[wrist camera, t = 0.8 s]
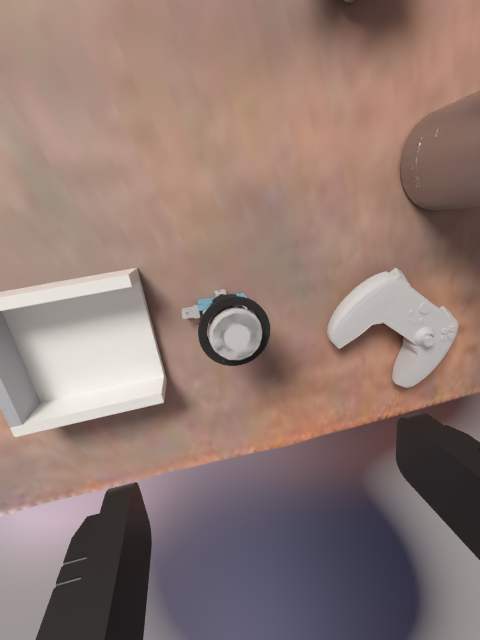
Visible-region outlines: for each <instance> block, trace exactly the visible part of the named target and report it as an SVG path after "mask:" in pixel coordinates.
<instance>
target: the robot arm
mask: <svg viewBox="0 0 480 640" xmlns="http://www.w3.org/2000/svg"><path fill="white" fill-rule="evenodd" d="M400 170H401V180H402V184H403V187H404V190H405V192H406V194H407V195H408V197H409V198H410V199H411V201H412V202H413V203H414V204H416V205H417V206H419V207H420V208H423V209H426V210H433V211H439V210H452V209H465V208H480V91H478V92H476V93H473V94H471V95H469V96H467V97H465V98H463V99H460V100H458V101H456V102H454V103H452V104H450V105H448V106H446V107H444V108H441V109H439V110H437V111H435V112H433V113H431V114H430V115H428V116H427V117H425V118H424V119H423V120H422V121H421V122H420V123H419V124H418V125H417V126H416V127H415V128H414V130H413V131H412V133H411V134H410V136H409V138H408V140H407V142H406V144H405V146H404V150H403V154H402V157H401V167H400ZM396 461H397V465H398V467H399V470H400V472H401V473H402V475H403V476H404V478H405V479H406V480H407V481H408V482H409V483H410V485H411V486H412V487H413V488H414V489H415V490H416V491H417V492H418V493H419V494H420V496H421V497H422V498H423V499H424V500H425V501H426V502H427V503H428V504H429V505H430V506H431V508H432V509H433V510H434V511H435V512H436V513H437V514H438V515H439V516H440V517H441V518H442V520H443V521H444V522H445V523H446V524H447V525H448V526H449V527H450V528H451V529H452V530H453V531H454V533H455V534H456V535H457V536H458V537H459V538H460V539H461V540H462V541H463V542H464V544H465V545H466V546H467V547H468V548H469V549H470V550H471V551H472V552H473V553H474V554H475V556H476V557H477V558H478V559H479V560H480V442H478V441H477V440H475V439H474V438H472V437H471V436H469V435H468V434H466V433H464V432H461V431H459V430H457V429H455V428H452V427H450V426H447V425H445V426H444V425H443V424H441V423H440V422H438V421H437V420H436V419H434V418H433V417H432V416H430V415H428V414H427V413H418V414H414V415H410V416H406V417H402V418H400V419H399V420H398V422H397V441H396ZM151 545H152V541H151V528H150V522H149V519H148V515H147V512H146V508H145V505H144V502H143V498H142V495H141V491H140V488H139V486H138V483H136V482H135V483H131V484H127V485H123V486H119V487H115V488H111V489H108V490H107V491H106V494H105V497H104V500H103V504H102V507H101V511H100V513H99V514H96V515H92V516H88V517H87V518H86V519H85V521H84V522H83V523H82V525H81V526H80V528H79V529H78V530H77V532H76V533H75V535H74V536H73V537H72V539H71V542H70V545H69V547H68V550H67V554H66V556H65V559H64V562H63V563H64V565H63V567H61V570H60V573H59V576H58V578H57V581H56V588H54V590H53V592H52V595H51V598H50V601H49V604H48V606H47V610H46V612H45V615H44V618H43V621H42V623H41V626H40V629H39V632H38V635H37V637H36V640H143V635H144V624H145V613H146V602H147V591H148V580H149V569H150V558H151Z"/></svg>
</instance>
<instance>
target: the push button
mask: <svg viewBox="0 0 480 640" xmlns="http://www.w3.org/2000/svg"><path fill="white" fill-rule="evenodd" d="M219 291H220V292H219ZM214 293H215V297H211V298H205V299H199V300H197V301H198V305H192V307H189V308H183V309H182V317H183V319H186V318H192V317H194V319H195V318H200V319H201V320H200V323H199V329H198V335H199V341H200V344H201V347H202V349H203V350H204V352H205V353H206V354H207V356H209V357H210V358H211V359H212V360H214V361H215V362H217V363H220V364H223V365H228V366H237V365H242V364H245V363H248V362H250V361H252V360H253V359H255V358H256V357H257V356H258V355H260V353H261V352H262V351H263V350H264V348H265V347H266V345H267V343H268V340H269V336H270V323H269V320H268V317H267V315H266V313H265V311H264V310H263V309H262V308H261V307H260V306H259V305H258V304H257V303H256V302H254V301H253V300H251V299H248V298H247V297H246V295H245V294H244V293H242V292H241V293H236V294H230V295H227V293H226V291H225V290H216V291H214ZM249 308H250V309H251V310H253V311H254V312H255V314H256V315H255V314H253V313H252V312H250V311H249ZM186 312H188V314H186ZM256 316H257V317H256ZM208 326H209V339H208V337H207V327H208Z"/></svg>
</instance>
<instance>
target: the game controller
mask: <svg viewBox="0 0 480 640" xmlns="http://www.w3.org/2000/svg"><path fill="white" fill-rule="evenodd" d="M382 323H384V324H386V325H387V326H389V327H390V328H392V329H393V330H395V331H396V332H398V333H399V334H401V335H402V336H403V337H404V338H403V344H402V347H401V349H400V351H399V354H398V356H397V358H396V361H395V364H394V368H393V374H392V379H393V381H394V383H396V384H397V385H399V386H403V387H406V388H408V387H412V386H414V385H416V384H418V383H419V382H420V381H422V380H423V379H424V378H425V377H427V376H428V375H429V374H430V373H431V372H432V371H433V370H434V369H435V367H436V366H437V365H438V364H439V363H440V361H441V360H442V359H443V357H444V356H445V354H446V353H447V351H448V350H449V348H450V346H451V344H452V342H453V341H454V338H455V336H456V333H457V330H458V326H459V325H458V323H457V321H456V319H455V318H454V317H453V316H452V314H451V313H450V311H449V310H448V309H447V308H445V307H444V306H441V307H440V308H438V307H436V306H435V305H434V304H433V303H431V302H430V301H429V300H427V299H426V298H425V297H423V296H422V295H421V294H419V293H418V292H417V291H415V290H414V289H413V288H412V287H410V284H409V283H407V280H406V278H405V276H404V274H403V273H402V272H401V271H400V270H398V269H397V268H394V269H393V270H392V271H391V272H389V273H388V272H386V271H385V272H382V273H379V274H376V275H374V276H372V277H370V278H368V279H367V280H365V281H364V282H362V283H361V284H360V285H358V286H357V287H356V288H354V289H353V290H352V291H351V292H350V293H349V294H348V295H347V296H346V297H345V298H344V299H343V300H342V302H341V303H340V304H339V305H338V307H337V308H336V310H335V311H334V313H333V315H332V316H331V319H330V321H329V324H328V328H327V335H328V338H329V339H330V341H331V342H332V343H333V344H334V345H335V346H336V347H337V348H338V349H340V348H342V347H343V346H345V345H346V344H348V343H349V342H351V341H352V340H354V339H355V338H357V337H358V336H359V335H361V334H362V333H363V332H364V331H366V330H367V329H368V328H369V327H370V326H372V325H374V324H382Z"/></svg>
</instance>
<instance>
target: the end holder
mask: <svg viewBox="0 0 480 640" xmlns="http://www.w3.org/2000/svg"><path fill="white" fill-rule="evenodd" d="M166 383H167V378H166V374H165V370H164V367H163V363H162V359H161V355H160V352H159V348H158V344H157V340H156V336H155V333H154V329H153V325H152V321H151V318H150V314H149V310H148V306H147V303H146V299H145V295H144V291H143V287H142V284H141V280H140V276H139V272H138V269H137V268H133V269H127V270H122V271H116V272H110V273H105V274H99V275H93V276H88V277H82V278H77V279H71V280H65V281H60V282H54V283H48V284H43V285H37V286H32V287H26V288H20V289H15V290H9V291H3V292H0V408H1V410H2V412H3V414H4V416H5V418H6V420H7V422H8V425H9V427H10V429H11V431H12V433H13V435H14V437H17V436H22V435H26V434H30V433H35V432H39V431H43V430H48V429H52V428H56V427H61V426H65V425H69V424H74V423H78V422H82V421H87V420H91V419H95V418H100V417H104V416H108V415H113V414H117V413H121V412H126V411H130V410H134V409H139V408H143V407H147V406H152V405H156V404H160V403H164V398H165V391H166Z"/></svg>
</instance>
